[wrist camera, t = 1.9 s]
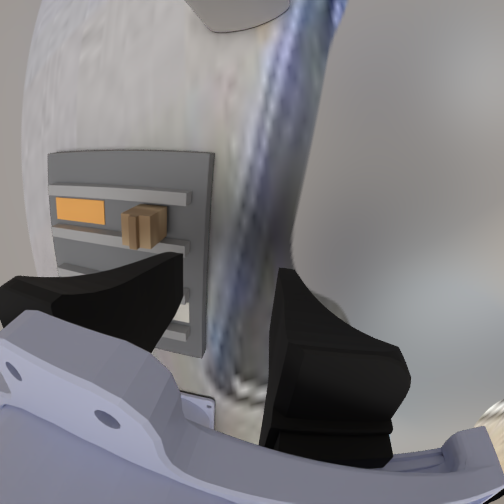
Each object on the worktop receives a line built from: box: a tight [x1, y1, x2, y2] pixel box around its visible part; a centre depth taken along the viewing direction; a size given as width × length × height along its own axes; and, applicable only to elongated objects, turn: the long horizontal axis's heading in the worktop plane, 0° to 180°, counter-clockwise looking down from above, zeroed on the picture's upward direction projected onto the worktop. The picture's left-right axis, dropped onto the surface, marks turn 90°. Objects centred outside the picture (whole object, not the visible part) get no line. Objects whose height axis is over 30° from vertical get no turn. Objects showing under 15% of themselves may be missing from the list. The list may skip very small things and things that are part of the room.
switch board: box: [48, 150, 215, 358], centre depth 21 cm, size 16×14×2 cm
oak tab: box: [121, 204, 167, 250], centre depth 17 cm, size 2×2×3 cm
